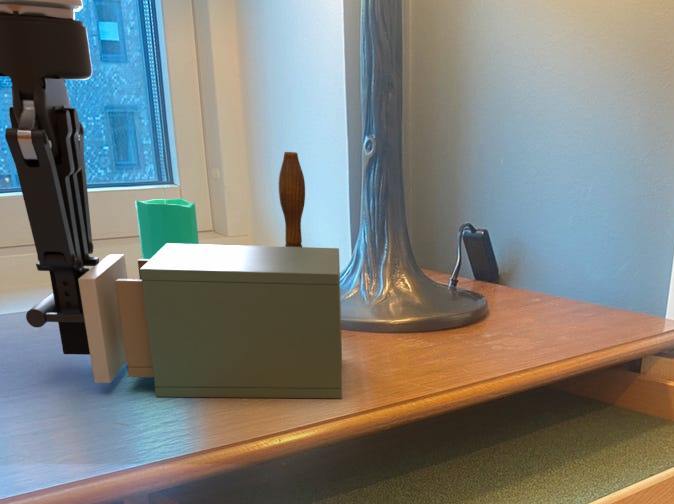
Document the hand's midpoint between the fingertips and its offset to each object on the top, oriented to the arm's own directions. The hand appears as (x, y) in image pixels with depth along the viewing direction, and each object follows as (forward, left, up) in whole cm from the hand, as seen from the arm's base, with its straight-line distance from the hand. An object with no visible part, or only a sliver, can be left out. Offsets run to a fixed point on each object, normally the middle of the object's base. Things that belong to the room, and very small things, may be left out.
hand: (82, 351), depth 79 cm
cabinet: (+4, +14, -2) cm, 14 cm away
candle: (-26, +11, -2) cm, 28 cm away
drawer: (+2, +6, -1) cm, 6 cm away
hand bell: (-16, +22, -2) cm, 27 cm away
